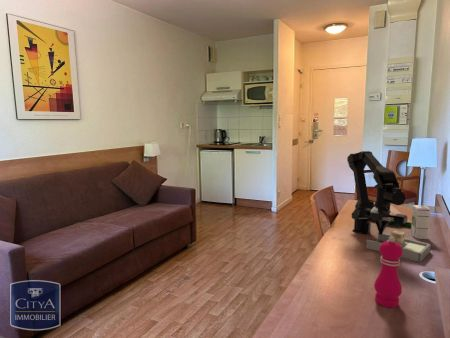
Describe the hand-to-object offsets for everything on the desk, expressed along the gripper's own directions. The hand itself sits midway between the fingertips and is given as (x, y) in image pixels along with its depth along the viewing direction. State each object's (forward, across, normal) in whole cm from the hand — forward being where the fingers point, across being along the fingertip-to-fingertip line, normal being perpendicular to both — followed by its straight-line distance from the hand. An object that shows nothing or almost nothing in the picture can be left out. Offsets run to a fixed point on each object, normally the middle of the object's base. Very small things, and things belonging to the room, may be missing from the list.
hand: (380, 234), depth 143 cm
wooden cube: (+2, +7, 0) cm, 7 cm away
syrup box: (+4, +10, +22) cm, 25 cm away
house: (+5, -10, +46) cm, 47 cm away
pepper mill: (+4, +19, -49) cm, 53 cm away
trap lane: (+4, +8, -3) cm, 9 cm away
